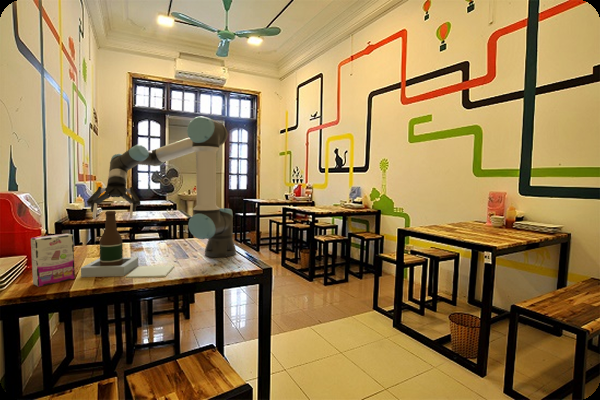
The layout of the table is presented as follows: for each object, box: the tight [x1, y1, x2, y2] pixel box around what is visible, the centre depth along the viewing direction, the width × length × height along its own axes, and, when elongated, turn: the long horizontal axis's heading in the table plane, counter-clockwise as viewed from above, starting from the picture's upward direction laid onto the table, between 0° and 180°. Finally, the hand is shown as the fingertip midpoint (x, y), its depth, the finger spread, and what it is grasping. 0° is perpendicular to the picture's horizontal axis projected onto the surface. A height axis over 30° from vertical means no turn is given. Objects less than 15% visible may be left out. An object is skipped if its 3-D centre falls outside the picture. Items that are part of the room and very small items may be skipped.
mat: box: [125, 264, 175, 279], centre depth 124 cm, size 14×14×1 cm
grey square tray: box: [80, 256, 139, 278], centre depth 125 cm, size 15×15×4 cm
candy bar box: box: [30, 233, 76, 287], centre depth 110 cm, size 11×5×16 cm, turn 148°
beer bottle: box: [99, 210, 124, 266], centre depth 124 cm, size 8×8×24 cm
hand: (112, 216), depth 132 cm, fingers open, 13 cm apart
